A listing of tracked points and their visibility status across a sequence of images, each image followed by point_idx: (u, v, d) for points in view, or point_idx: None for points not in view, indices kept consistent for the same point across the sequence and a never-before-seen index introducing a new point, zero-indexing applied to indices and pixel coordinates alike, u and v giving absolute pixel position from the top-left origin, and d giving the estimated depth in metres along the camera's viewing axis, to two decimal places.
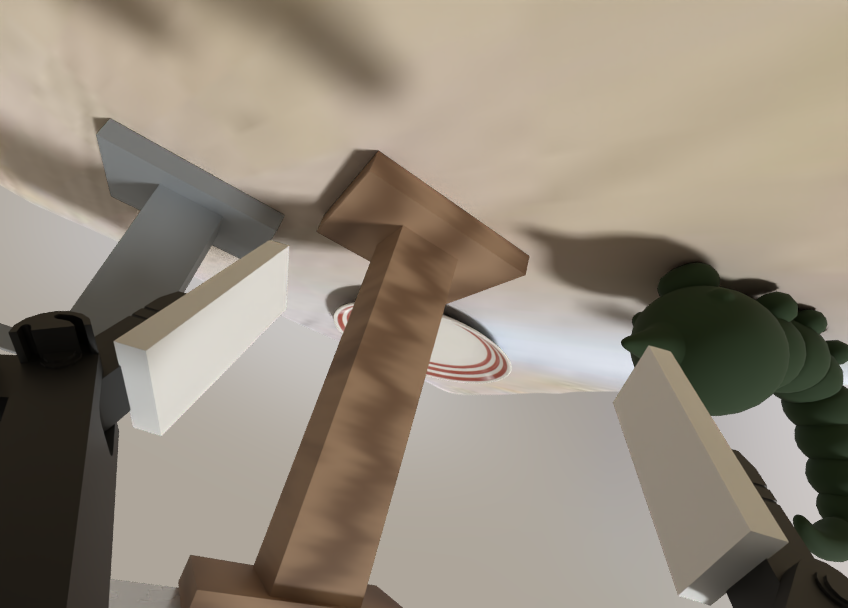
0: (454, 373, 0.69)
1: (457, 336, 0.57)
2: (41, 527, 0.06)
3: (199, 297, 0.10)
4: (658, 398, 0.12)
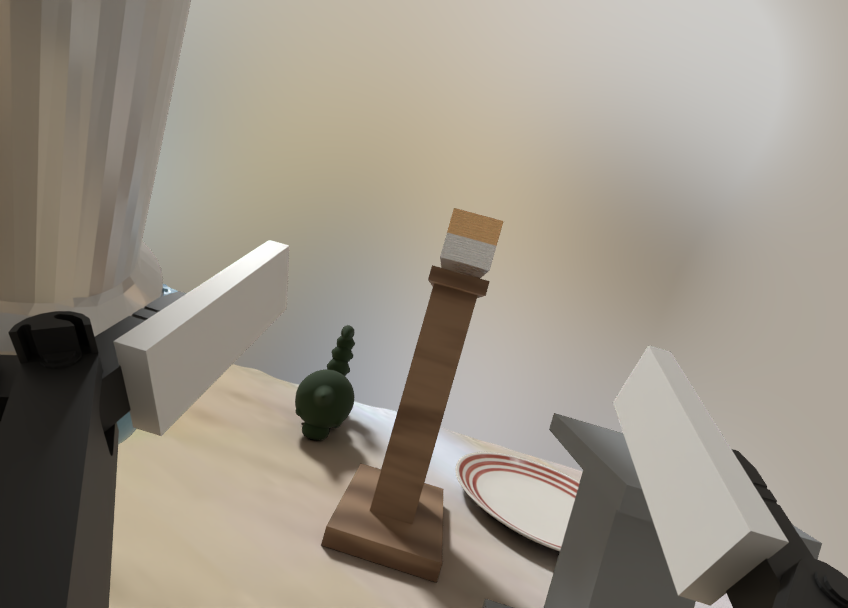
0: (555, 478, 0.71)
1: (498, 489, 0.63)
2: (40, 527, 0.06)
3: (199, 297, 0.10)
4: (658, 398, 0.12)
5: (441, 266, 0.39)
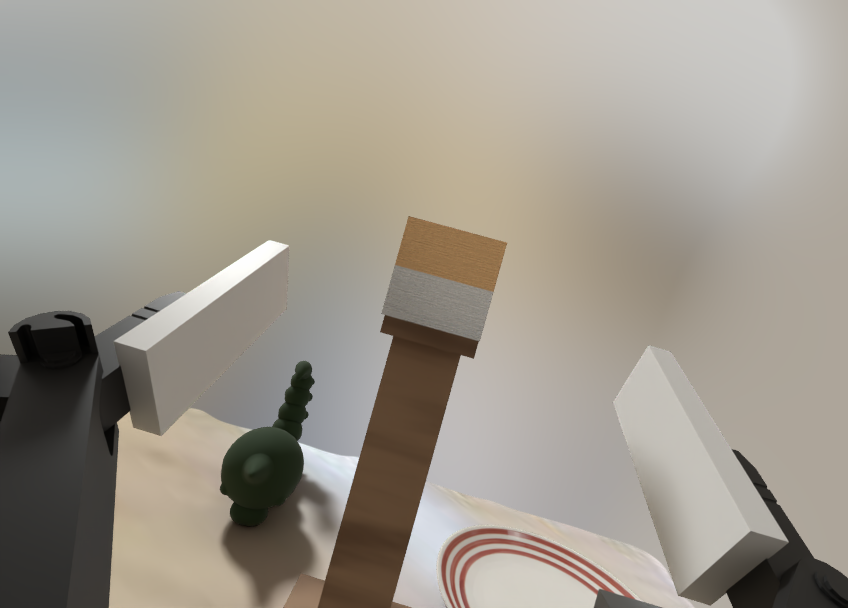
0: (566, 560, 0.56)
1: (493, 588, 0.47)
2: (40, 527, 0.06)
3: (199, 297, 0.10)
4: (658, 398, 0.12)
5: None
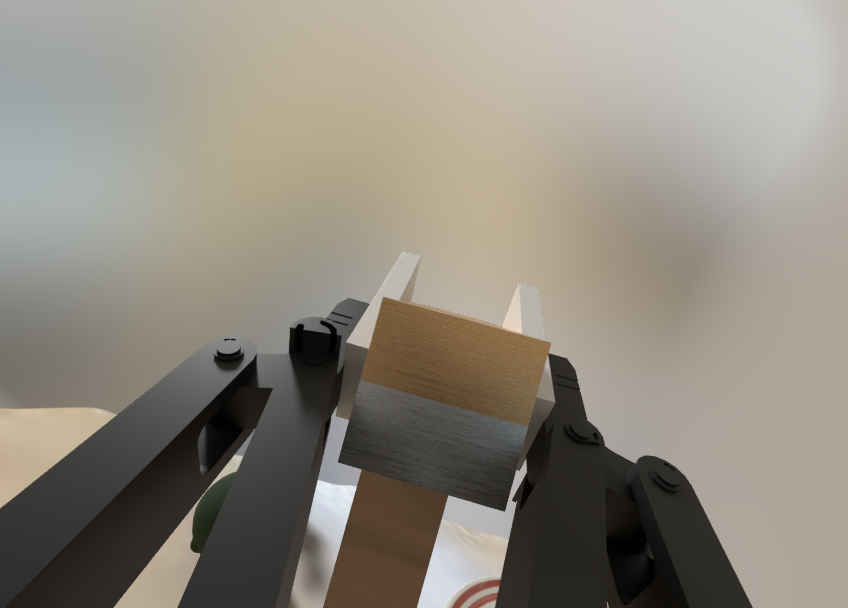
0: None
1: None
2: (275, 505, 0.06)
3: None
4: (514, 322, 0.14)
5: None
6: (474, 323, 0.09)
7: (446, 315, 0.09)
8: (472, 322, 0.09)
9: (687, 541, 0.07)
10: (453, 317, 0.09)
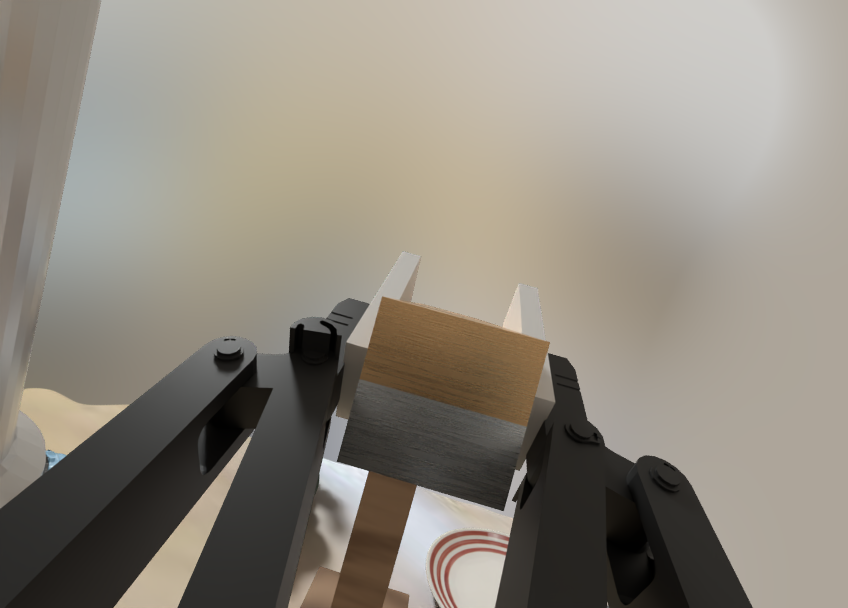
0: None
1: (472, 580, 0.59)
2: (275, 505, 0.06)
3: None
4: (514, 322, 0.14)
5: None
6: (473, 323, 0.09)
7: (445, 315, 0.09)
8: (471, 322, 0.09)
9: (687, 541, 0.07)
10: (452, 317, 0.09)
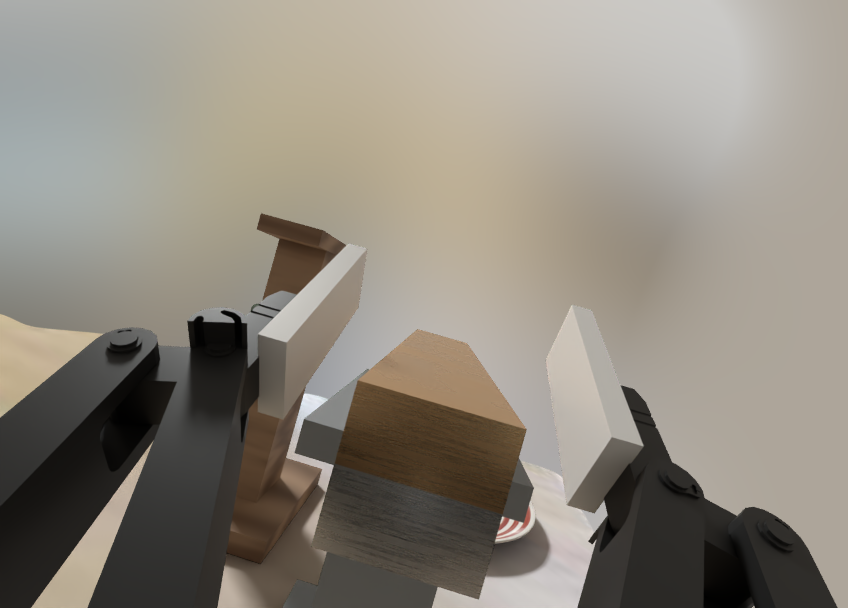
0: None
1: None
2: (187, 502, 0.06)
3: (311, 295, 0.12)
4: (573, 347, 0.13)
5: None
6: (449, 408, 0.09)
7: (421, 400, 0.09)
8: (447, 407, 0.09)
9: (800, 606, 0.07)
10: (428, 402, 0.09)
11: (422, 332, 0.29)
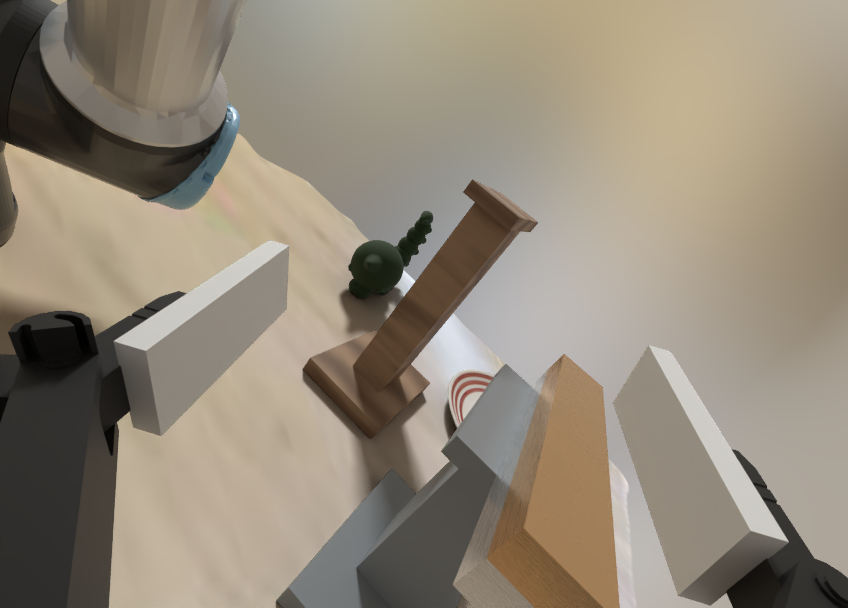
0: None
1: None
2: (40, 527, 0.06)
3: (199, 297, 0.10)
4: (659, 398, 0.12)
5: (496, 476, 0.22)
6: (575, 580, 0.13)
7: (559, 564, 0.13)
8: (574, 578, 0.13)
9: None
10: (563, 568, 0.13)
11: (567, 364, 0.32)
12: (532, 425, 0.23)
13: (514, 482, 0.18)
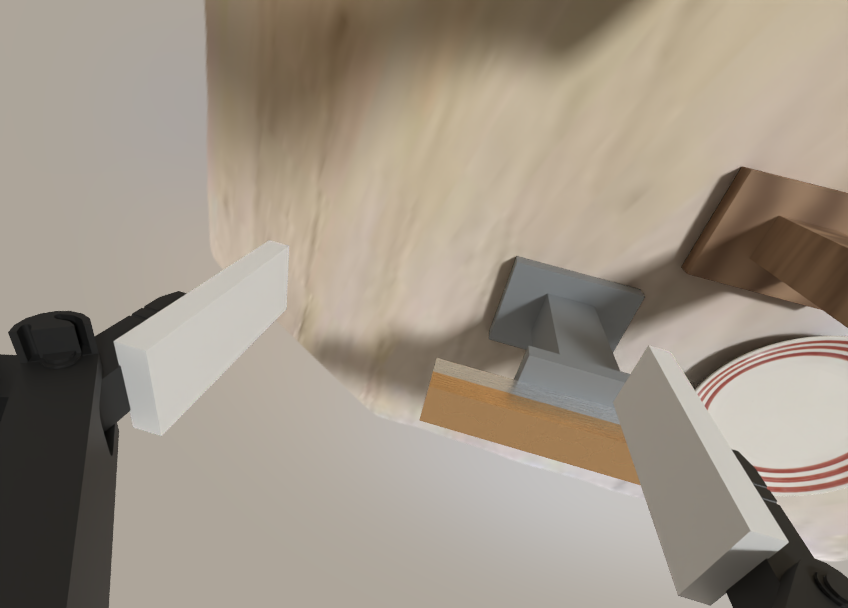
0: (847, 470, 0.55)
1: (836, 385, 0.51)
2: (40, 527, 0.06)
3: (199, 297, 0.10)
4: (658, 398, 0.12)
5: (516, 380, 0.36)
6: (424, 405, 0.34)
7: (425, 399, 0.33)
8: (424, 405, 0.34)
9: None
10: (425, 401, 0.34)
11: None
12: (551, 408, 0.33)
13: (482, 388, 0.34)
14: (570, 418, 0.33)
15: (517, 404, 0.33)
